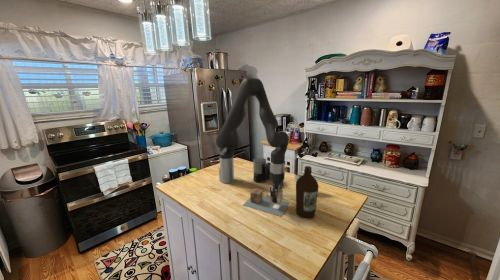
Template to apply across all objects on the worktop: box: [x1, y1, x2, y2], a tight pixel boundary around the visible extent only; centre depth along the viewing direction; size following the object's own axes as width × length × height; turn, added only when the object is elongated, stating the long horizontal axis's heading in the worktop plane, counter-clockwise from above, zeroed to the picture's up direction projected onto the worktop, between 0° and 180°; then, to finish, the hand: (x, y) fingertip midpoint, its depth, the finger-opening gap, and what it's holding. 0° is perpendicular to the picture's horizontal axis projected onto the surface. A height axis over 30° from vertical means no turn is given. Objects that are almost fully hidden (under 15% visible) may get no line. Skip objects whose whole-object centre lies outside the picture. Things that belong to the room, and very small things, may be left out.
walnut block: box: [249, 188, 264, 204], centre depth 116 cm, size 5×5×6 cm
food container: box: [294, 173, 316, 183], centre depth 126 cm, size 12×6×10 cm, turn 62°
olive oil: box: [295, 165, 319, 220], centre depth 102 cm, size 11×11×25 cm
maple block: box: [269, 188, 284, 204], centre depth 110 cm, size 5×5×6 cm
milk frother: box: [252, 157, 271, 183], centre depth 143 cm, size 14×16×15 cm
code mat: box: [242, 195, 290, 217], centre depth 114 cm, size 22×14×1 cm, turn 62°
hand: (276, 200), depth 110 cm, fingers closed on maple block, 5 cm apart
